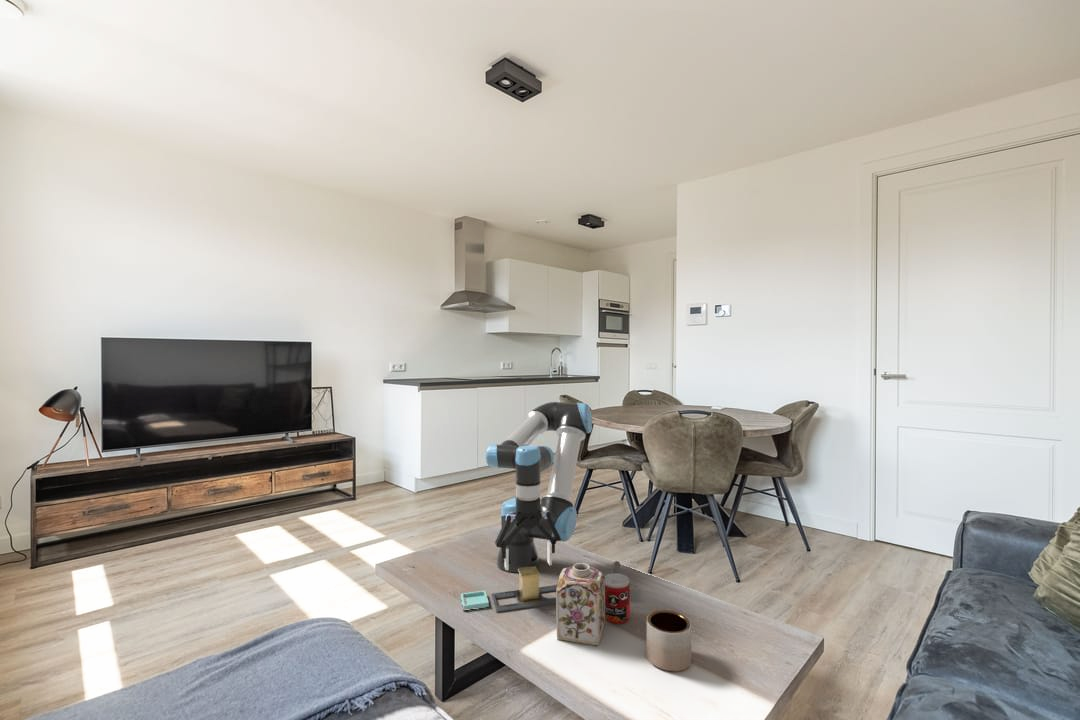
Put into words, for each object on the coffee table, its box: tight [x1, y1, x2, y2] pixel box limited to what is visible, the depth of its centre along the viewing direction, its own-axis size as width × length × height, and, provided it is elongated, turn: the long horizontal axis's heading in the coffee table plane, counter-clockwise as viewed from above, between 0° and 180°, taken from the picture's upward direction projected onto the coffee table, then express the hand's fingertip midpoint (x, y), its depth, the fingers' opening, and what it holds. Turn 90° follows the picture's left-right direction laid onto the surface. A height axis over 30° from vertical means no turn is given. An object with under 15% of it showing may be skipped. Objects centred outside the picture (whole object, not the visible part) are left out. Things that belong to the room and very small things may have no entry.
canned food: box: [604, 573, 630, 625], centre depth 140 cm, size 8×8×11 cm
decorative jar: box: [555, 562, 606, 646], centre depth 133 cm, size 12×12×18 cm
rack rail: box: [490, 584, 557, 613], centre depth 150 cm, size 22×9×1 cm, turn 105°
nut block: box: [518, 566, 541, 603], centre depth 150 cm, size 6×6×9 cm
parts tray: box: [460, 590, 490, 610], centre depth 148 cm, size 8×8×2 cm
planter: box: [645, 609, 693, 672], centre depth 121 cm, size 11×11×10 cm
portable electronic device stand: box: [608, 560, 621, 574], centre depth 154 cm, size 9×8×8 cm
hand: (528, 566), depth 149 cm, fingers open, 13 cm apart
